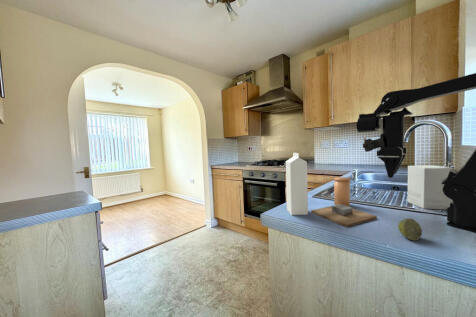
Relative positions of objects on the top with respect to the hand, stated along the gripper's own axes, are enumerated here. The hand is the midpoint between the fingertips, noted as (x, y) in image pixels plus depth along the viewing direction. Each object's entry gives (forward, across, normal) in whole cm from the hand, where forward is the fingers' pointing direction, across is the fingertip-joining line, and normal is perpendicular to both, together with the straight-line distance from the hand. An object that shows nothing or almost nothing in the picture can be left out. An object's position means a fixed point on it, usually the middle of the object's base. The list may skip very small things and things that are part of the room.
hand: (392, 175), depth 65 cm
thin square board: (+13, +14, -12) cm, 22 cm away
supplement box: (+13, -17, +9) cm, 23 cm away
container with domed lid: (+13, +1, -16) cm, 20 cm away
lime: (+13, +19, +6) cm, 24 cm away
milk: (+13, +20, -25) cm, 35 cm away
